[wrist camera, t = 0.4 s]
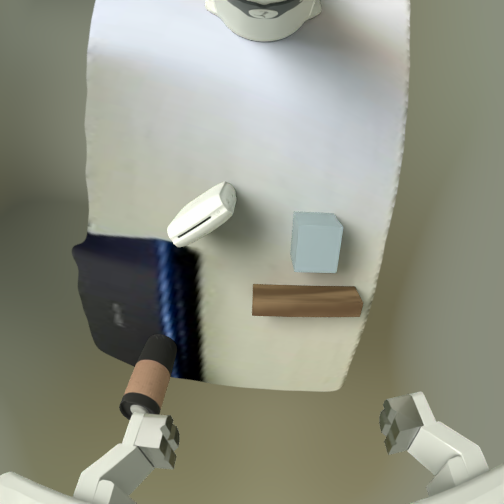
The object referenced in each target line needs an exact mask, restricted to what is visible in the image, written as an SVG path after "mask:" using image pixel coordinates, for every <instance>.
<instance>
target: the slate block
mask: <svg viewBox="0 0 504 504" xmlns="http://www.w3.org/2000/svg"><path fill="white" fill-rule="evenodd" d="M342 233H343V226H342V224H341V223H340V222H339V220H338V219H337V218H336V216H335V215H334V214H331V213H314V212H295V211H294V218H293V230H292V242H291V253H290V254H291V259H292V263H293V268H294V272H315V273H336V272H337V266H338V260H339V253H340V247H341V240H342Z"/></svg>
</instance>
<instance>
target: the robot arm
mask: <svg viewBox="0 0 504 504" xmlns="http://www.w3.org/2000/svg"><path fill="white" fill-rule="evenodd" d="M314 3H315V4H314ZM205 8H206V9H207V10H208V11H209V12H211V13H212V14H214V15H216V16H218V17H219V18H220V19H221V20H222V21H223V22H224V24H225V25H226V26H227V27H228V28H229V29H230V30H231V31H232V32H234V33H235V34H237V35H239V36H241V37H243V38H246V39H249V40H253V41H262V42H266V41H275V40H279V39H282V38H285V37H287V36H289V35H291V34H293V33H294V32H295V31H297V30H298V29H299V28H300V27H301V25H302V24H303V23H304V22H305V21H306V20H308V19H310V18H313V17H315V16H317V15H319V14H320V12H321V4H320V0H206V2H205ZM383 406H384V410H382V411H381V414H380V422H379V423H380V429H381V432H382V433H383V434H384V435H385V436H387V437H386V439H385V441H384V442H385V446H386V449H387V452H388V455H389V454H394V453H398V452H402V451H406V450H408V452H409V453H410V454H411V455H412V456H413V457H415V458H416V459H417V460H418V461H419V462H420V463H421V464H422V465H424V466H425V467H426V468H427V469H428V470H429V471H431V472H432V473H433V474H434V475H435V477H434V478H433V479H432V480H431V482H430V483H429V484H428V485H427V487H426V488H427V491H428V495H429V497H428V498H425V499H422V500H418V501H415V502H413V503H409V504H504V463H503V464H501V465H499V466H497V467H495V468H493V469H492V470H489V467H488V465H487V463H486V460H485V458H484V456H483V453H482V451H481V449H480V447H479V446H478V445H476V444H475V443H473V442H472V441H470V440H468V439H467V438H465V437H464V436H462V435H460V434H459V433H457V432H456V431H454V430H453V429H451V428H449V427H448V426H446V425H445V424H443V423H442V422H440V421H438V422H436V420H435V418H434V416H433V414H432V411H431V409H430V407H429V405H428V402H427V400H426V398H425V396H424V394H423V393H422V392H416V393H412V394H407V395H403V396H399V397H395V398H391V399H387V400H385V401H384V404H383ZM178 445H179V431H178V428H177V426H175V425H174V424H173V419H172V417H171V416H170V415H158V414H147V413H138V412H134V413H133V415H132V416H131V419H130V422H129V425H128V427H127V430H126V433H125V436H124V439H123V442H122V444H118V445H116V446H115V447H114V448H113V449H111V450H110V451H109V452H107V453H106V454H105V455H104V456H103V457H101V458H100V459H99V460H98V461H96V462H95V463H93V464H92V465H91V466H90V467H88V468H87V469H86V470H84V471H83V472H82V473H81V476H80V478H79V481H78V484H77V487H76V489H75V492H74V495H73V497H71V496H68V495H65V494H62V493H60V492H57V491H55V490H52V489H50V488H47V487H45V486H43V485H40V484H38V483H36V482H34V481H31V480H29V479H27V478H25V477H23V476H21V475H19V474H17V473H14V472H7V473H5V474H2V475H0V504H137V503H136V502H135V501H134V500H132V499H131V498H130V497H129V495H130V494H131V493H132V492H133V491H134V490H135V489H136V487H137V486H139V484H140V483H141V482H142V481H143V480H144V479H145V478H146V477H147V476H148V475H149V474H150V473H151V471H152V470H153V469H154V467H155V468H165V469H174V465H175V461H176V454H175V453H174V450H176V449H177V448H178Z"/></svg>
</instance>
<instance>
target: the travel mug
mask: <svg viewBox="0 0 504 504" xmlns="http://www.w3.org/2000/svg"><path fill="white" fill-rule="evenodd" d="M176 353H177V346H176V344H175V342H174V341H173V340H172V339H171V338H169V337H167V336H165V335H160V334H156V335H153V336H151V337H150V338H149V339H148V341H147V343H146V345H145V347H144V349H143V351H142V353H141V355H140V357H139V359H138V361H137V363H136V366H135V368H134V371H133V373H132V376H131V378H130V381H129V383H128V386H127V388H126V391H125V393H124V396H123V398H122V401H121V403H120V407H119V408H120V411H121V413H122V414H123V415H124V416H125V417H126V418H127V419H129V420H130V419H131V416H132V415H133V413H134V412H138V413H147V414H158V415H159V413H160V410H161V406H162V403H163V400H164V397H165V393H166V390H167V387H168V383H169V380H170V377H171V373H172V369H173V365H174V361H175V357H176Z"/></svg>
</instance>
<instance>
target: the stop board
mask: <svg viewBox="0 0 504 504" xmlns="http://www.w3.org/2000/svg"><path fill="white" fill-rule="evenodd" d="M362 307H363V302H362V300H361V298H360V296H359V294H358V292H357V290H356V288H355V287H350V286H297V285H263V284H253V304H252V316H282V317H360V314H361V310H362Z"/></svg>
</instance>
